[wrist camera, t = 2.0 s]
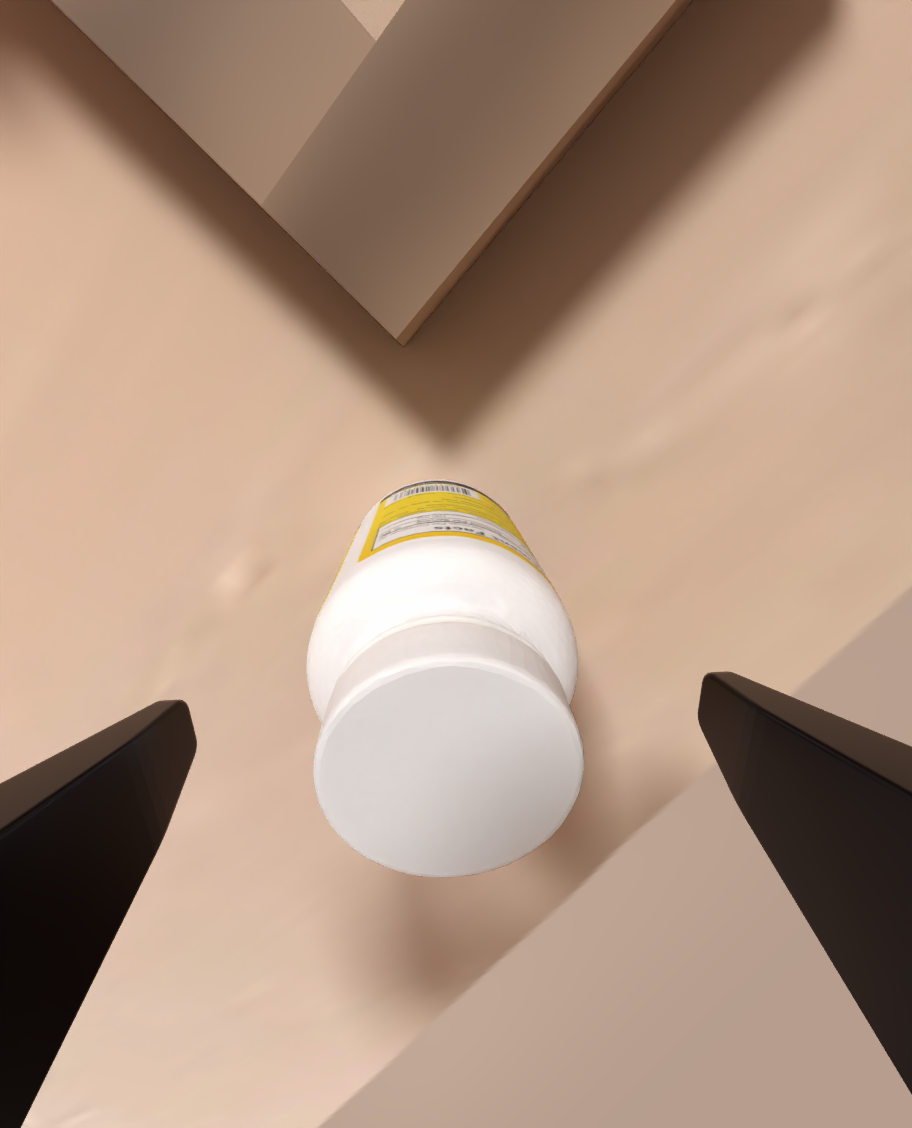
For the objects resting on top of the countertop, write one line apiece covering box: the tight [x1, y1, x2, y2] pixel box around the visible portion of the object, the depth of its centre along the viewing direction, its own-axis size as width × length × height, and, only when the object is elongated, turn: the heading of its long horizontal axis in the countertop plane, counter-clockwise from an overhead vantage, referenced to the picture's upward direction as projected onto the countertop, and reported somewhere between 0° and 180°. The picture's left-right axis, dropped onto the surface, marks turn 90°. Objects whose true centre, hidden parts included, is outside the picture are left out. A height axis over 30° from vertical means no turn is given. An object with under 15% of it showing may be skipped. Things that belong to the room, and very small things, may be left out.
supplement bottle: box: [307, 479, 584, 878], centre depth 12 cm, size 5×5×10 cm
